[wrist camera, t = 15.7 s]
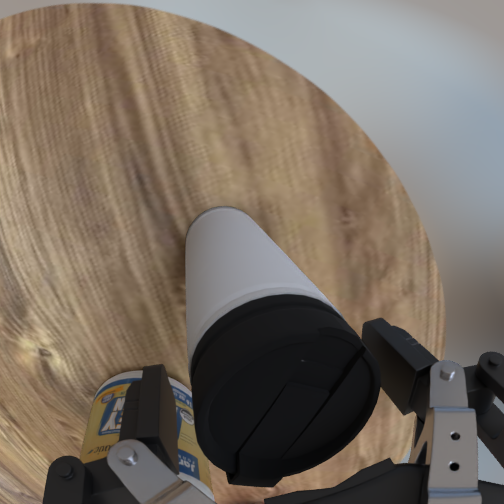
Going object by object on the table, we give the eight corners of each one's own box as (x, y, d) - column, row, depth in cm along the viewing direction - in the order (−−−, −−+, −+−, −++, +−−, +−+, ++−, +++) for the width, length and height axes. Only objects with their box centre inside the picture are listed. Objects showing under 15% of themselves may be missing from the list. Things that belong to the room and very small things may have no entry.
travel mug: (172, 263, 26) (161, 477, 8) (205, 193, 25) (262, 316, 6) (236, 290, 28) (317, 491, 10) (271, 225, 27) (428, 370, 8)
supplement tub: (200, 364, 30) (222, 515, 14) (204, 438, 34) (224, 558, 18) (84, 362, 27) (42, 501, 12) (108, 437, 31) (96, 553, 15)
